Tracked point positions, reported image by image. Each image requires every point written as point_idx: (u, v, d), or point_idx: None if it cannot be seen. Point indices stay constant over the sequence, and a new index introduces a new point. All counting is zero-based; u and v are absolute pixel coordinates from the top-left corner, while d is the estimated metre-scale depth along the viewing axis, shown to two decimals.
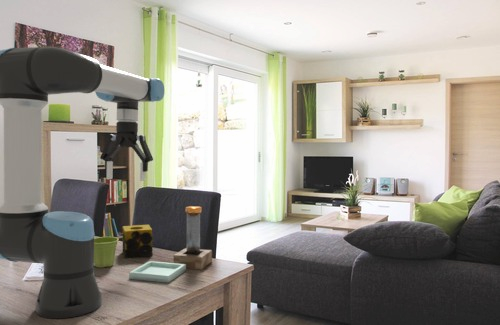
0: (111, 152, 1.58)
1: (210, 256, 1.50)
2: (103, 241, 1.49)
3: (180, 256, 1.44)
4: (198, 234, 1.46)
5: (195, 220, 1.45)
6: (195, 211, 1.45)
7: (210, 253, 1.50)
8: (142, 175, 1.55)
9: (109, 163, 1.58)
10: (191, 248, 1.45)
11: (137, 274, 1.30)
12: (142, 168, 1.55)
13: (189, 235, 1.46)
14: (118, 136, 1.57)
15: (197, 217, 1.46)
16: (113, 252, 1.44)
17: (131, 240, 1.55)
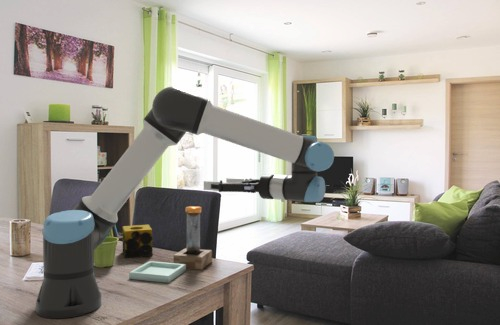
0: (250, 180, 1.42)
1: (210, 256, 1.50)
2: (103, 241, 1.49)
3: (180, 256, 1.44)
4: (198, 234, 1.46)
5: (195, 220, 1.45)
6: (195, 211, 1.45)
7: (210, 253, 1.50)
8: (208, 183, 1.35)
9: (241, 180, 1.45)
10: (191, 248, 1.45)
11: (137, 274, 1.30)
12: (215, 182, 1.34)
13: (189, 235, 1.46)
14: None
15: (197, 217, 1.46)
16: (113, 252, 1.44)
17: (131, 240, 1.55)
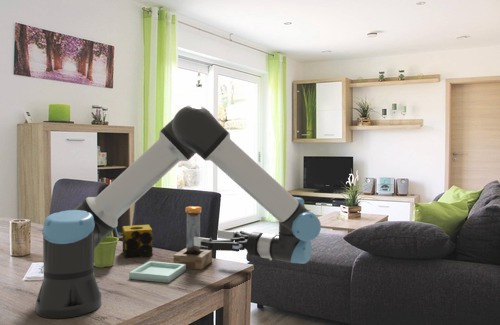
0: (240, 234, 1.45)
1: (210, 256, 1.50)
2: (103, 241, 1.49)
3: (180, 256, 1.44)
4: (198, 234, 1.46)
5: (195, 220, 1.45)
6: (195, 211, 1.45)
7: (210, 253, 1.50)
8: (198, 239, 1.38)
9: (231, 233, 1.48)
10: (191, 248, 1.45)
11: (137, 274, 1.30)
12: (205, 239, 1.37)
13: (189, 235, 1.46)
14: None
15: (197, 217, 1.46)
16: (113, 252, 1.44)
17: (131, 240, 1.55)
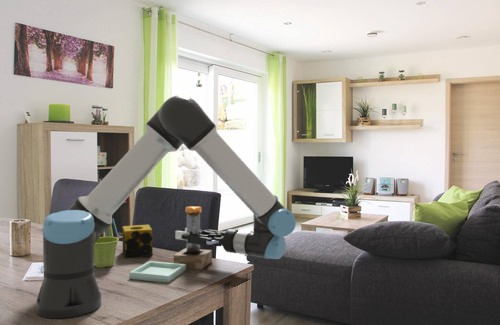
0: (210, 232, 1.47)
1: (210, 256, 1.50)
2: (103, 241, 1.49)
3: (180, 256, 1.44)
4: None
5: (195, 220, 1.45)
6: (195, 211, 1.45)
7: (210, 253, 1.50)
8: (179, 233, 1.47)
9: None
10: (191, 248, 1.45)
11: (137, 274, 1.30)
12: (185, 233, 1.45)
13: None
14: None
15: (197, 217, 1.46)
16: (113, 252, 1.44)
17: (131, 240, 1.55)
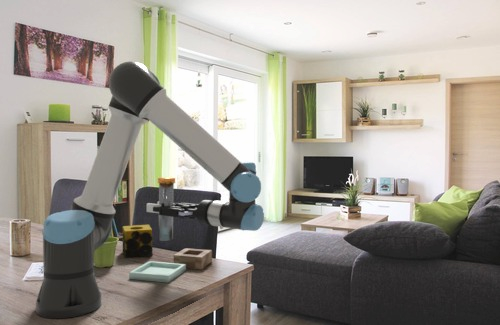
0: (184, 204, 1.37)
1: (210, 256, 1.50)
2: None
3: (180, 256, 1.44)
4: None
5: (167, 191, 1.35)
6: (167, 181, 1.34)
7: (210, 253, 1.50)
8: (151, 205, 1.36)
9: None
10: (163, 221, 1.35)
11: (137, 274, 1.30)
12: (157, 205, 1.35)
13: None
14: None
15: (170, 188, 1.35)
16: (113, 252, 1.44)
17: (131, 240, 1.55)
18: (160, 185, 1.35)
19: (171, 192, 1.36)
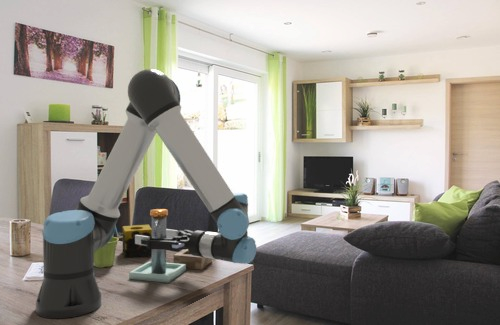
0: (184, 233, 1.37)
1: None
2: None
3: (180, 256, 1.44)
4: None
5: (160, 224, 1.33)
6: (160, 214, 1.32)
7: None
8: (139, 237, 1.31)
9: (174, 232, 1.39)
10: (156, 254, 1.33)
11: (137, 274, 1.30)
12: (145, 237, 1.30)
13: None
14: None
15: (163, 220, 1.33)
16: (113, 252, 1.44)
17: (131, 240, 1.55)
18: (152, 218, 1.34)
19: (164, 225, 1.34)
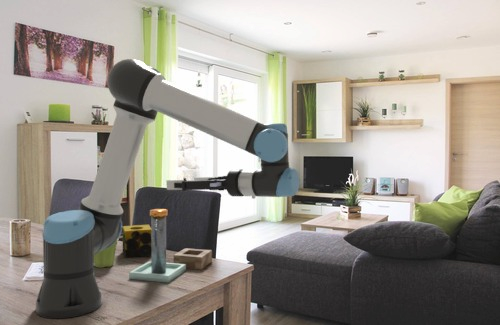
0: None
1: (210, 256, 1.50)
2: None
3: (180, 256, 1.44)
4: (164, 239, 1.34)
5: (160, 224, 1.33)
6: (159, 214, 1.32)
7: (210, 253, 1.50)
8: (171, 182, 1.22)
9: None
10: (156, 254, 1.33)
11: (137, 274, 1.30)
12: (179, 181, 1.21)
13: (153, 241, 1.33)
14: None
15: (162, 220, 1.33)
16: (113, 252, 1.44)
17: (131, 240, 1.55)
18: (152, 218, 1.33)
19: (163, 225, 1.34)
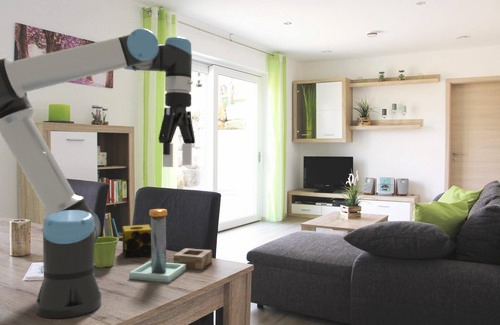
0: None
1: (210, 256, 1.50)
2: (103, 241, 1.49)
3: (180, 256, 1.44)
4: (163, 239, 1.34)
5: (159, 224, 1.33)
6: (159, 214, 1.32)
7: (210, 253, 1.50)
8: (164, 159, 1.20)
9: (184, 145, 1.33)
10: (156, 254, 1.33)
11: (137, 274, 1.30)
12: None
13: (153, 241, 1.33)
14: None
15: (162, 220, 1.33)
16: (113, 252, 1.44)
17: (131, 240, 1.55)
18: (152, 218, 1.33)
19: (163, 225, 1.34)
